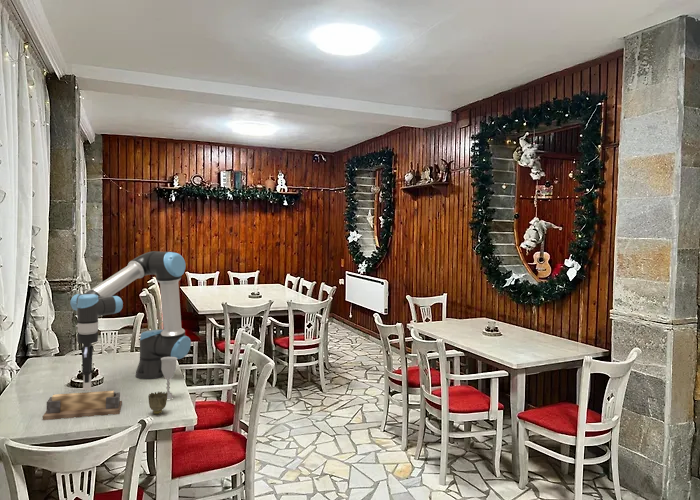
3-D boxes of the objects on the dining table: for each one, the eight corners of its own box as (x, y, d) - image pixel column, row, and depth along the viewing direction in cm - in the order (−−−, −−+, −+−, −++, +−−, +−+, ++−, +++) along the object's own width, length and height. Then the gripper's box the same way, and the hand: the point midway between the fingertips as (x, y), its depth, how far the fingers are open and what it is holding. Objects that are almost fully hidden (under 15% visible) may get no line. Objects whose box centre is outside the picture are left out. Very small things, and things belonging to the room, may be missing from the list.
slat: (113, 404, 208) (114, 390, 207) (112, 407, 205) (113, 392, 205) (53, 409, 200) (53, 394, 200) (51, 411, 197) (52, 396, 197)
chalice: (179, 397, 224) (180, 357, 224) (169, 402, 218) (170, 361, 217) (166, 395, 226) (167, 356, 226) (155, 399, 220) (156, 359, 220)
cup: (151, 410, 207) (151, 391, 207) (169, 410, 208) (169, 391, 208) (145, 416, 200) (145, 396, 200) (164, 416, 200) (164, 397, 200)
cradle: (121, 404, 213) (122, 390, 213) (119, 414, 202) (119, 399, 201) (49, 409, 204) (49, 395, 203) (42, 420, 192) (42, 404, 192)
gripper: (79, 329, 208) (79, 385, 209) (74, 336, 196) (74, 395, 197) (99, 328, 211) (99, 383, 212) (95, 335, 198) (95, 393, 199)
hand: (87, 389), depth 204 cm, fingers closed
